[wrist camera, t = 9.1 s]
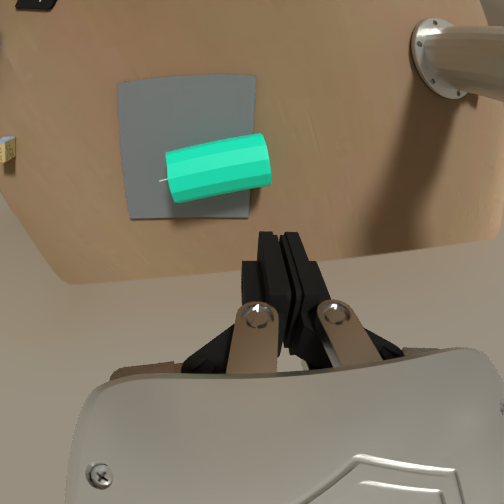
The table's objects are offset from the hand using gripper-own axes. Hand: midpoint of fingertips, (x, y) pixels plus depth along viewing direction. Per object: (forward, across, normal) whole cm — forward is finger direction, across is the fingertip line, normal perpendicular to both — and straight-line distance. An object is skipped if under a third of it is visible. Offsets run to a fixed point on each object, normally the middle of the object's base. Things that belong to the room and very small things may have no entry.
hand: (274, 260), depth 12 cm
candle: (+20, -2, +1) cm, 20 cm away
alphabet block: (+23, +36, -4) cm, 42 cm away
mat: (+23, +8, 0) cm, 24 cm away
